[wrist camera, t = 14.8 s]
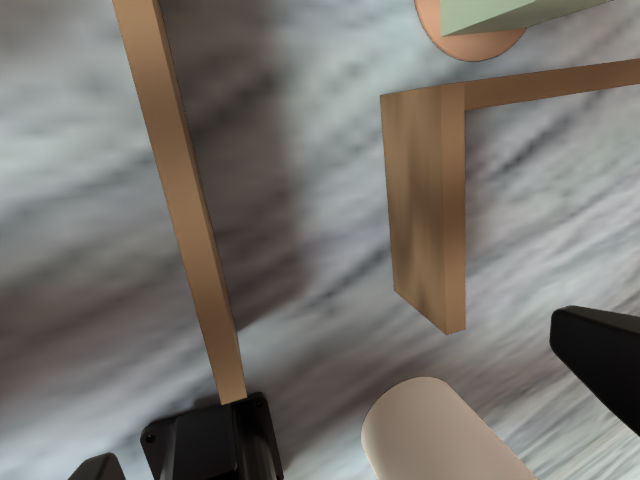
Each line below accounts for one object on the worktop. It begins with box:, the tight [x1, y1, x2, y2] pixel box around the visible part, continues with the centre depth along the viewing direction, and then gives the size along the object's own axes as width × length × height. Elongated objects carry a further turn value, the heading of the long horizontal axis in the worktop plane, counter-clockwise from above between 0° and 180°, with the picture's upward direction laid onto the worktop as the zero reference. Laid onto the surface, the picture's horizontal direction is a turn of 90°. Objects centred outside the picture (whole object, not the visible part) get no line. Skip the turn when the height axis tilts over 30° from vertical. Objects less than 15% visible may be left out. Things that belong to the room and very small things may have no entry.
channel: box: [112, 0, 640, 405], centre depth 16 cm, size 20×20×5 cm
